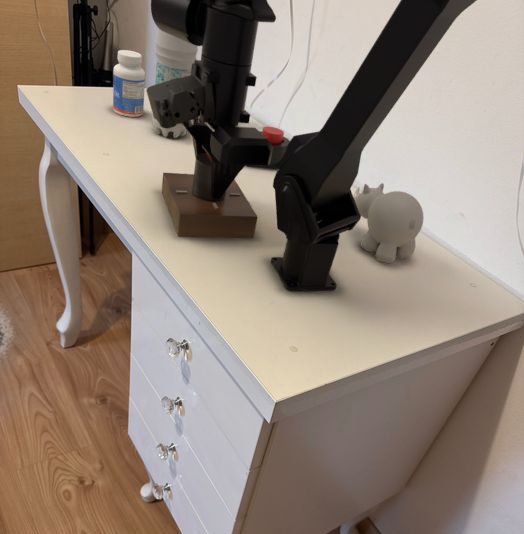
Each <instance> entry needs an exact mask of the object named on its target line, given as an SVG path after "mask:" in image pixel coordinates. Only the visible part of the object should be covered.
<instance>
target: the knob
mask: <svg viewBox="0 0 524 534" xmlns="http://www.w3.org/2000/svg"><path fill="white" fill-rule="evenodd" d="M193 174H194V178H193V187H192V192H193V194H194V195H195V196H197V197H199V198H201V199H204V200H209V201H219V200H222V199H224V198H225V196H226V191H225V193H224V194H223V196H222V197H221V198H220V199H213V198H212V192H211V158H210V156H209V155H208V154H207V153H201V154H198V155H197V156H196V158H195V159H194V170H193Z"/></svg>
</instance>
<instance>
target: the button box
mask: <svg viewBox="0 0 524 534" xmlns="http://www.w3.org/2000/svg"><path fill="white" fill-rule="evenodd" d="M259 132H260V133H262V130H260V131H259ZM289 142H290V139H289V138H287V137H286V136H283V140H282V143H281V144H273V143H271V145H272V146H273V150H272V155H271V160H270V164H268V165H245V167H249V168H250V167H251V168H264V169H265V168H266V169H276V168H275V167H274V165H275V164H276V163H278V162H279V161H280V160H281V159H282V157H283V156H284V154H285V151H286V149H287V146H288V144H289Z"/></svg>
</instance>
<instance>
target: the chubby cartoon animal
mask: <svg viewBox="0 0 524 534" xmlns="http://www.w3.org/2000/svg"><path fill="white" fill-rule="evenodd" d="M384 186H385V184H384V183H383V182H382V183H380V184H379V185H378V186H377V187H370V186H369V185H368V184H367V183H365V184H364V185H363V188H362V191H361V192H360V189H361V188H360V186H359V187H357V189H356V190H355V191H354V195H353V197H354V200H355V203H356V205H357V208H358V210H359V213H360V216H361V218H363V219H366V221H367V229H368V231H367V232H366V233H365V234H364V236H363V238H362V240H361V242H360V243H361V244H360V245H361V248H362V249H363V250H364V251H366V252H368V253H369V252H370V253H375V258H376V259H377V260H378V261H379V262H382V263H385V264H390V263H391V264H392V263H393V262H394V261H395V259H396V257H398V258H401V259H411V257H413V255H414V253H415V250H416V238H417V237H418V235H419V234H420V233H421V230H422V228H423V225H424V211H423V208H422V206H421V204H420V202H419V201H418V200H417V198H415V197H414V196H413V195H412V194H410V193H407V192H405V191H402V190H401V191H400V190H394V191H389V192H386V193H384V188H385V187H384Z"/></svg>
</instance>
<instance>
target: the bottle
mask: <svg viewBox="0 0 524 534" xmlns="http://www.w3.org/2000/svg"><path fill="white" fill-rule="evenodd" d="M154 45H155V49H154V53H155V55H156V66H155V83H154V85H156V84H159V83H162V82H166V81H169V80H172V79H175V78H181V77H186V76H190V75H191V67H192V64H193V63H194V62H195V60H197V54H198V46H196V45H193V44H191V43H188V42H186V41H184V40H182V39H179V38H177V37H175V36H172V35H170V34H168V33H166V32H163V31H162V30H160V29H159V28H158V27H157V31H156V37H155V41H154ZM151 115H152V116H151V119H152V126H153V129H154V131H155V133H157V134H159V135H160V134H162V136H163V137H166V138H167V137H168V136H169V133H170V132H171V133H172V137H173V138H174V139H177V138H179V137H182V138H183V137H185V135H186V134H187V132H188V131H187V130H186V129H185V127H184V126H183V125H182V124H177V125H176V126H175V127H172V128H162V127H161V126H160V124H159V122H158V121H157V120H156V119H155V118H154V116H153V112H152V113H151Z"/></svg>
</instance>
